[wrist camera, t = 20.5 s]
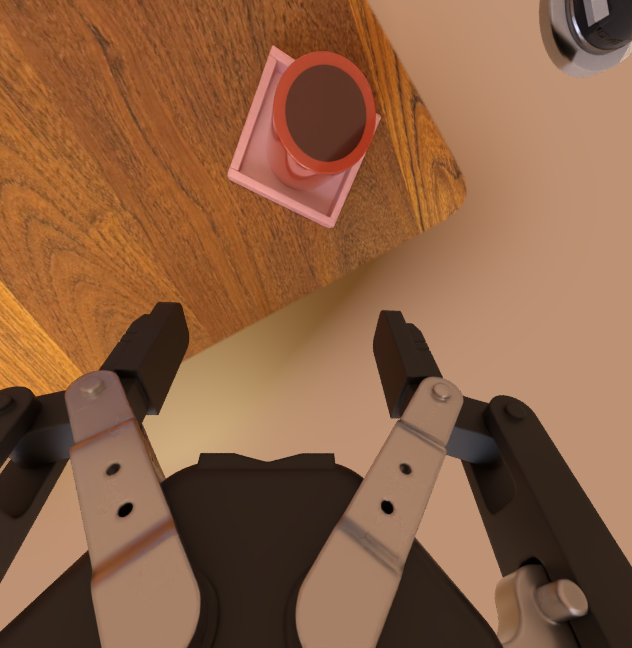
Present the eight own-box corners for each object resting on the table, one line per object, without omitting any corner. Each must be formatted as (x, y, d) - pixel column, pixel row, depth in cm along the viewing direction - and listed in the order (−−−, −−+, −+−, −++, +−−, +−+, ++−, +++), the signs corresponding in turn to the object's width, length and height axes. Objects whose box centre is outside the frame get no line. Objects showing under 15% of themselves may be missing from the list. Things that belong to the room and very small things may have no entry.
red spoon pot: (282, 94, 22) (299, 23, 14) (348, 134, 24) (394, 90, 16) (255, 170, 23) (256, 141, 16) (319, 203, 25) (349, 192, 17)
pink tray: (270, 60, 22) (272, 44, 20) (371, 124, 24) (381, 116, 22) (228, 179, 23) (226, 175, 21) (327, 228, 26) (333, 227, 24)
